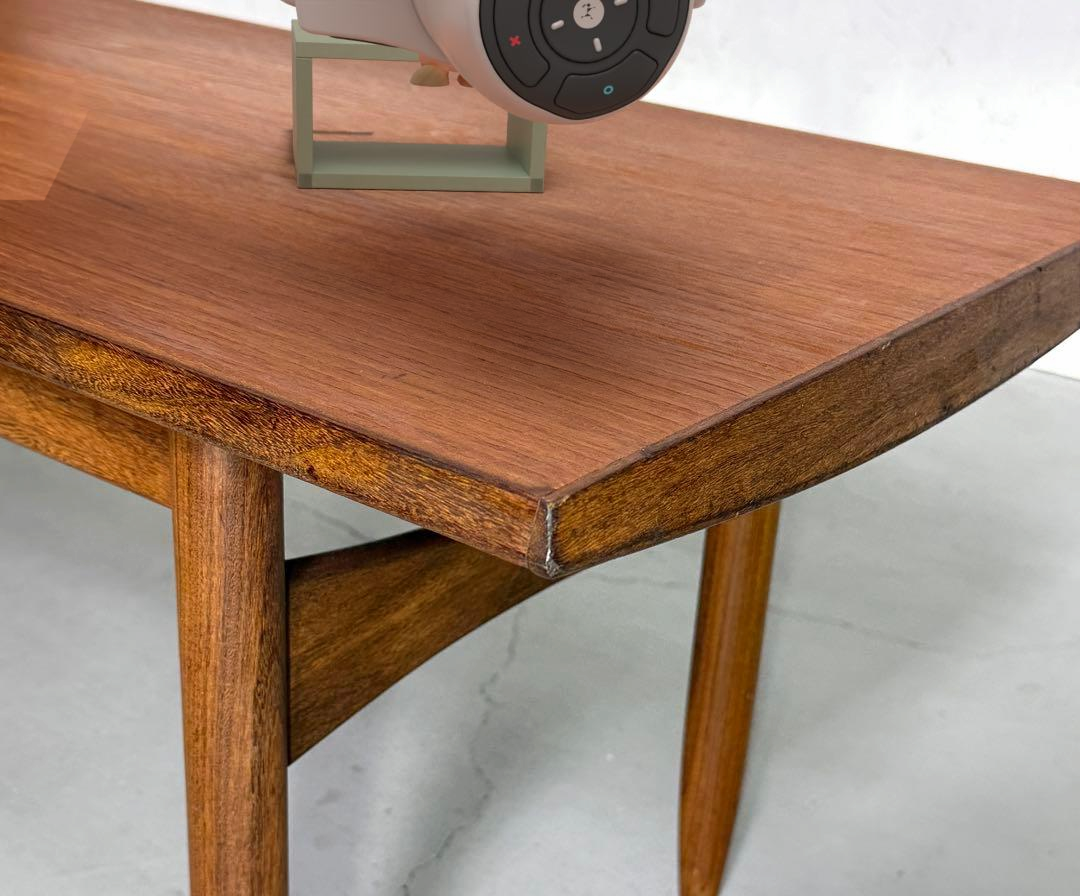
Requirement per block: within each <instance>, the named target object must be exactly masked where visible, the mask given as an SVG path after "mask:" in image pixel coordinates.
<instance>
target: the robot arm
mask: <svg viewBox="0 0 1080 896" xmlns="http://www.w3.org/2000/svg"><path fill="white" fill-rule="evenodd" d="M280 1H281V2H283V3H284V4H286V5H288V6H291V7H292V8H295V10H296V19H298V25H299V27H300V28H301V29H302V30H304V31H306V32H308V33H311V34H317V35H325V36H330V37H332V38H337V39H344V40H352V41H359V42H366V43H372V44H377V45H383V46H388V47H395V48H403V49H406V50H409V51H412V52H415V53H418V54H421V55H424V56H426V57H429V58H431V59H434V60H437V61H439V62H442V63H445V64H447V65H450V66H453V67H454V68H455V69H456V70H457V71H458V72H457V73H458V75H459V74H460V75H461V76H462V77H463V78H464V79H465V80H466V81H467V82H468V83H469V84H470V85H471V86H472V87H473V88H472V89H475V91H477V92H478V93H479V94H480V95H482V96H483V97H484V98H486V99H487V100H488V101H490V102H491V103H492V104H494V105H496V106H497V107H498V108H500V109H502V110H504V111H506V112H507V113H508V112H509V113H511V114H513V115H515V116H518V117H521V118H524V119H527V120H530V121H534V122H539V123H545V124H548V125H556V126H575V125H587V124H591V123H597V122H601V121H603V120H606V119H610V118H611V117H614V116H616V115H619V114H621V113H622V112H624V111H627V109H629V108H631V107H632V106H634V105H636V104H637V103H638V102H639V101H641V100H642V99H643V98H645V97H646V96H647V95H648V94H649V93H650V92H651V91H653V89H654V88H656V87H657V86H658V85H659V83H660V82H661V81H662V80H663V79H664V78H665V76H666V75H667V73H669V71H670V69H671V68H672V67H673V65H674V64H675V62H676V60H677V58H678V56H679V54H680V52H681V51H682V48H683V46H684V44H685V42H686V38H687V35H688V33H689V29H690V26H691V22H692V17H693V11H694V10H695V9H699V8H702V7H703V6H705V4H706V2H707V0H280Z"/></svg>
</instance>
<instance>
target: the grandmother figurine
mask: <svg viewBox="0 0 1080 896" xmlns="http://www.w3.org/2000/svg"><path fill="white" fill-rule="evenodd" d="M418 61H419V62H418V63H420V67H418V68H417V69H416V70H415V71H414V72H413V73H412V75H411V77H410V79H409V83H410V84H411V85H413V86H418V87H419V86H420V87H428V88H437V87H438V88H441V87H442V88H443V87H447V86H449V85H450V83H451V81H450V78H449V74H450V72H452V73H458V76H457V77H456V80H457V83H458V84H459V85H460V86H461V87H465V88H470V89H474V88H473V87H472V86H471V85H470V84H469V83H468V82H467V81H466V80H465V79H464V78H463V77H462V76H461V75H460V74H459V72H458V71H457V70H456V69H455V68H454V67H453V66H450V65H447V64H445V63H442V62H439V61H437V60H434V59H431V58H429V57H426V56H424V55H421V54H419V56H418Z"/></svg>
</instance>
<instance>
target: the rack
mask: <svg viewBox="0 0 1080 896" xmlns="http://www.w3.org/2000/svg"><path fill="white" fill-rule="evenodd" d="M290 22H291V23H290V25H291V31H290V32H291V95H292V96H291V101H292V103H291V105H292V108H291V109H292V111H291V112H292V157H293V164H295V165H294V172H295V179H296V186H297V188H298V189H339V190H340V189H341V190H342V189H344V190H348V189H349V190H389V191H391V190H394V191H395V190H397V191H442V192H443V191H445V192H447V191H449V192H490V193H491V192H492V193H494V192H496V193H498V192H499V193H540V194H541V193H544V191H545V190H544V189H545V173H546V159H547V158H546V156H547V140H548V125H549V124H545V123H539V122H534V121H530V120H527V119H524V118H521V117H518V116H515V115H513V114H511V113H509V112H507V119H506V120H507V121H506V141H505V145H501V144H500V145H497V144H494V145H493V144H462V143H461V144H456V143H455V144H454V143H417V142H383V141H382V142H376V141H340V140H339V141H338V140H337V141H335V140H314V127H313V126H314V120H313V118H314V116H313V115H314V114H313V113H314V112H313V111H314V110H313V108H314V107H313V105H314V104H313V102H314V101H313V96H314V95H313V94H314V92H313V59H323V60H324V59H325V60H328V59H329V60H351V61H352V60H354V61H355V60H356V61H382V62H383V61H385V62H408V63H409V62H411V63H420V62H419V61H418V56H419V54H418V53H415V52H412V51H409V50H406V49H403V48H395V47H388V46H383V45H377V44H372V43H366V42H359V41H352V40H344V39H337V38H332V37H330V36H325V35H317V34H311V33H308V32H306V31H304V30H302V29H301V28H300V27H299V25H298V19H297V18H293V19H292V18H291V21H290Z"/></svg>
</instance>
